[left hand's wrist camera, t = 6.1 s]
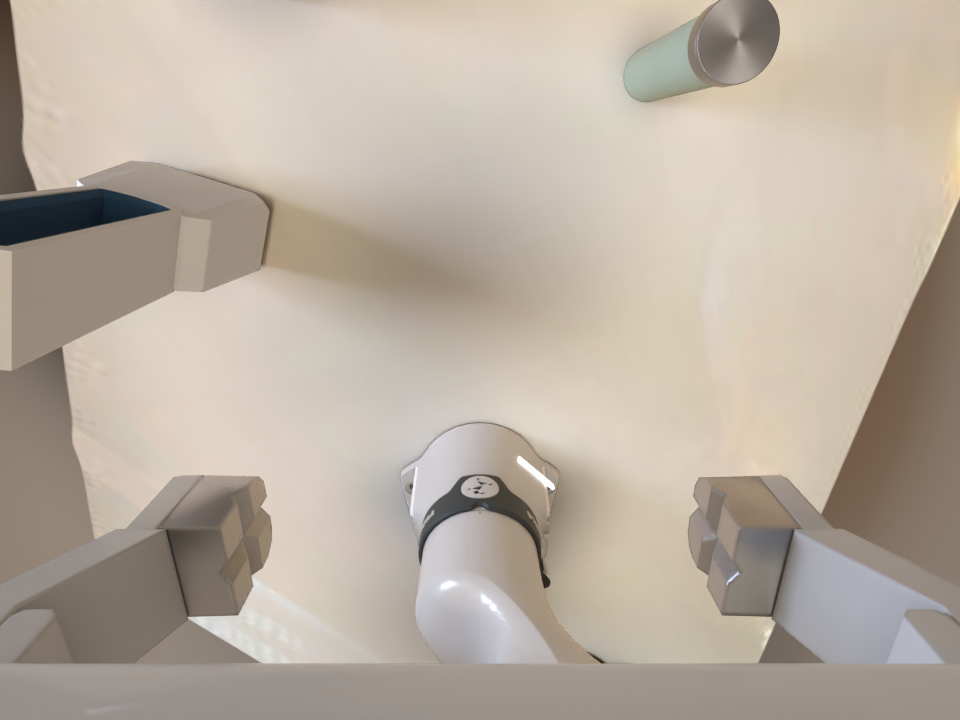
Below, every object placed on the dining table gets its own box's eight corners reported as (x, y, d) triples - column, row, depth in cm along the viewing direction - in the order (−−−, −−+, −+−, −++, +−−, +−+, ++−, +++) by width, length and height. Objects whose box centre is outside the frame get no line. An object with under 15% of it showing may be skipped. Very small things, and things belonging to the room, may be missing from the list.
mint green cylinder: (682, 79, 51) (786, 47, 34) (640, 112, 52) (720, 98, 35) (656, 35, 50) (750, -22, 32) (613, 70, 51) (683, 33, 33)
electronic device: (140, 233, 56) (-200, 324, 28) (147, 157, 53) (-222, 174, 25) (264, 269, 57) (57, 391, 29) (276, 197, 54) (62, 255, 27)
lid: (780, 50, 35) (794, 46, 33) (711, 104, 36) (722, 102, 34) (742, -22, 33) (755, -29, 32) (672, 36, 35) (681, 31, 33)
